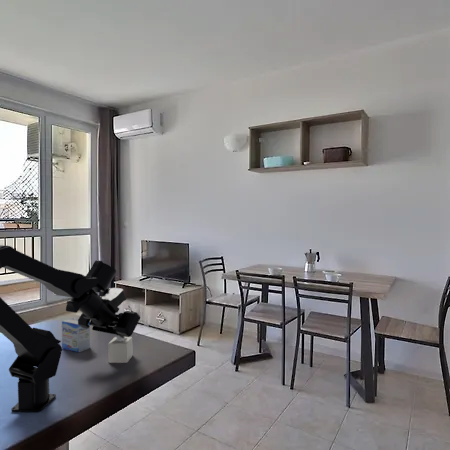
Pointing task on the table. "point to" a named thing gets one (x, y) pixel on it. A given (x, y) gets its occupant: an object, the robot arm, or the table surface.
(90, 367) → the table surface
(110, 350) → the press block
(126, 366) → the table surface
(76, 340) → the medicine box
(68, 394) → the table surface
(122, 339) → the plunger
